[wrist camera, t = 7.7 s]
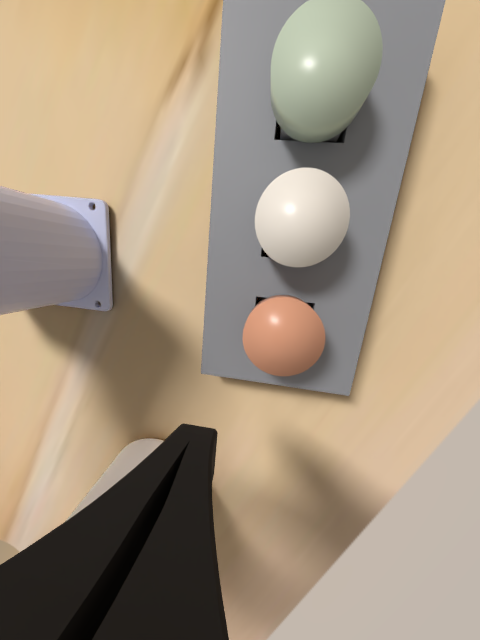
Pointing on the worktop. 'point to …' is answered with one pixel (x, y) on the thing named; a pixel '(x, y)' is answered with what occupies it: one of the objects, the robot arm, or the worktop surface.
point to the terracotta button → (283, 335)
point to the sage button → (324, 68)
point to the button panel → (284, 155)
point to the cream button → (302, 217)
